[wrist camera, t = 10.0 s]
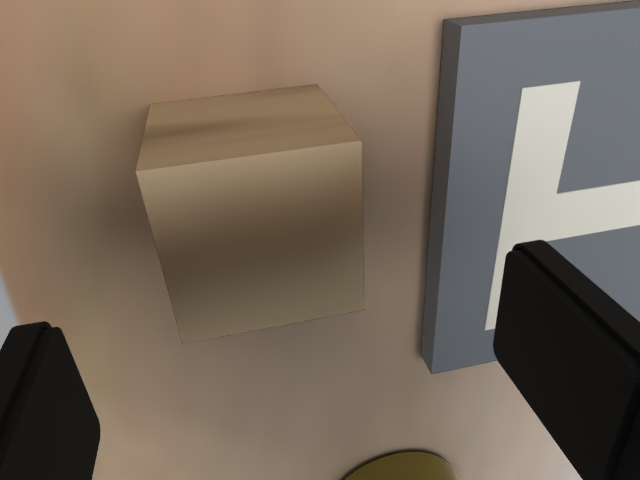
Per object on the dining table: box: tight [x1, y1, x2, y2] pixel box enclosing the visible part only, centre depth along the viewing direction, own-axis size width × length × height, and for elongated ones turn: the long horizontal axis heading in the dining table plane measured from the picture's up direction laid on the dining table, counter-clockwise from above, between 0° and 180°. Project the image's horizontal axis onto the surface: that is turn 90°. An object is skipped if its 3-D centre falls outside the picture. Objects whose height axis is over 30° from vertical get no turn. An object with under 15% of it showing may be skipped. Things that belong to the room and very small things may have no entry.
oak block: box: [136, 84, 364, 344], centre depth 15 cm, size 5×5×5 cm
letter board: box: [421, 0, 640, 374], centre depth 20 cm, size 14×14×1 cm
